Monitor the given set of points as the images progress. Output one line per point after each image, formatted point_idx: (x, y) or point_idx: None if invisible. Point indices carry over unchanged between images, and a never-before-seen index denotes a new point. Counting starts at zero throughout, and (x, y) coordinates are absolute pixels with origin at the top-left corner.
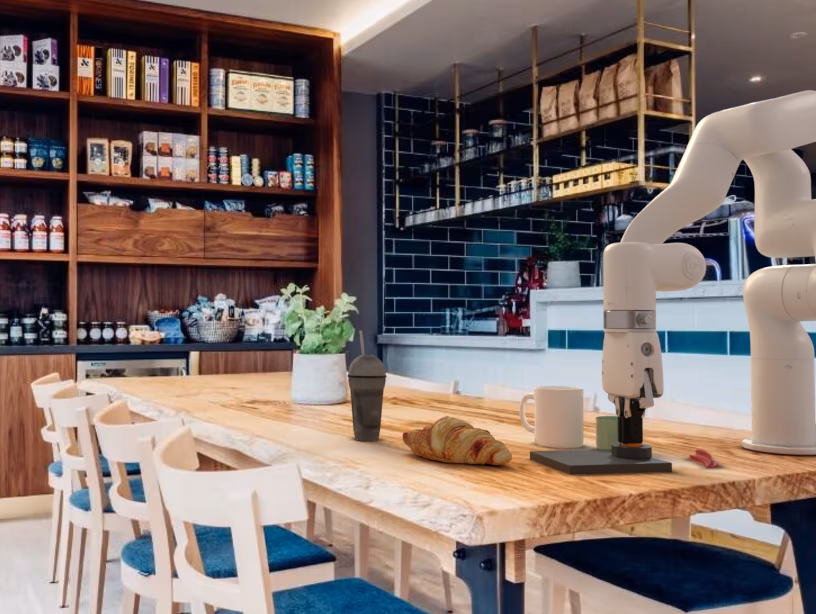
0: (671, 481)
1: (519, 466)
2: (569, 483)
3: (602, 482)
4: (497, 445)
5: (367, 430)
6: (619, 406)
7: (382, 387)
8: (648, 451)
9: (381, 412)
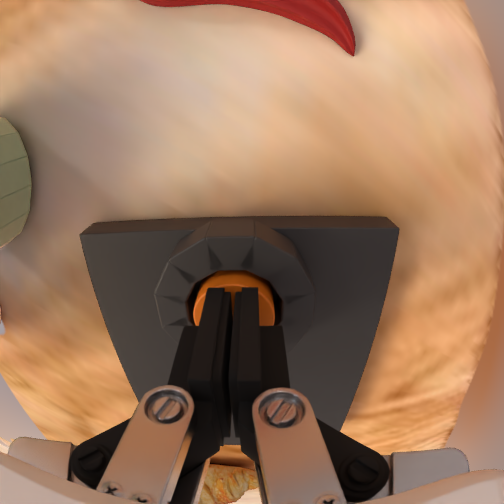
0: (459, 287)
1: (230, 450)
2: (384, 429)
3: (403, 398)
4: (240, 495)
5: None
6: (201, 486)
7: None
8: (307, 272)
9: None
